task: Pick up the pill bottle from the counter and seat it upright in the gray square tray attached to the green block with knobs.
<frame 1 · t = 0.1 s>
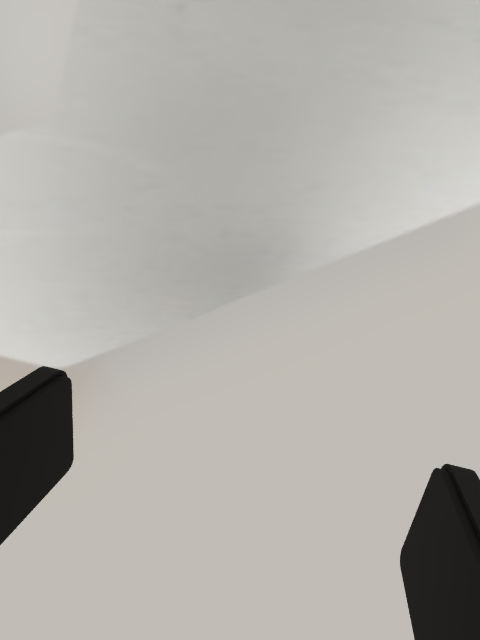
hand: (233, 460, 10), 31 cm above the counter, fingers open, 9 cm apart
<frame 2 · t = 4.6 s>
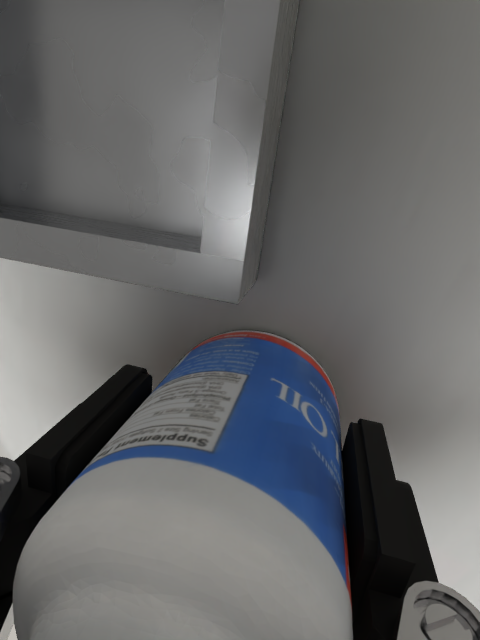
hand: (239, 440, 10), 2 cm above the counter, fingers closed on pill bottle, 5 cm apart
gray square tray: (115, 85, 10), on the counter
pill bottle: (254, 399, 12), on the counter, touching gripper
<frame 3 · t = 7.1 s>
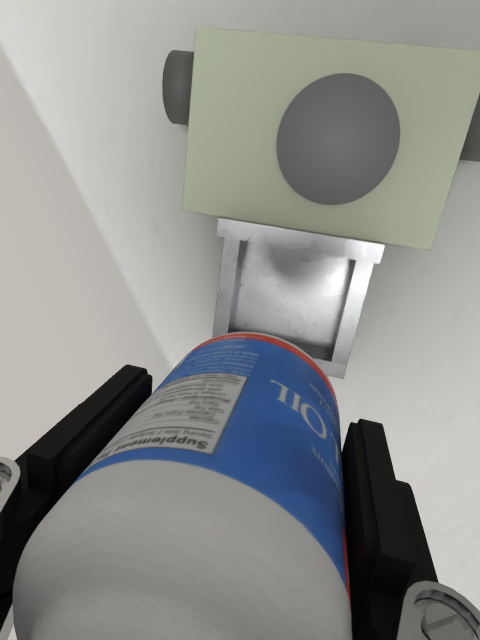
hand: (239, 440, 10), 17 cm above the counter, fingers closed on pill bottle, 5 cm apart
gray square tray: (290, 290, 26), on the counter
green block with knobs: (317, 148, 23), on the counter
pill bottle: (254, 400, 12), point 15 cm above the counter, touching gripper
when the fingers open (4 cm above the counter, at t = 9.7 s): pill bottle drops 2 cm, resting on gray square tray.
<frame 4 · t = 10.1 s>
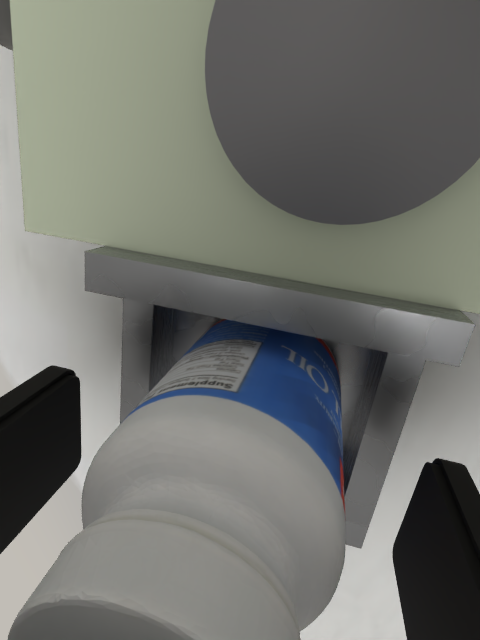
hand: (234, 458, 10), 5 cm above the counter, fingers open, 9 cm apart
gray square tray: (263, 371, 14), on the counter
green block with knobs: (311, 103, 11), on the counter
pill bottle: (265, 372, 14), resting on gray square tray
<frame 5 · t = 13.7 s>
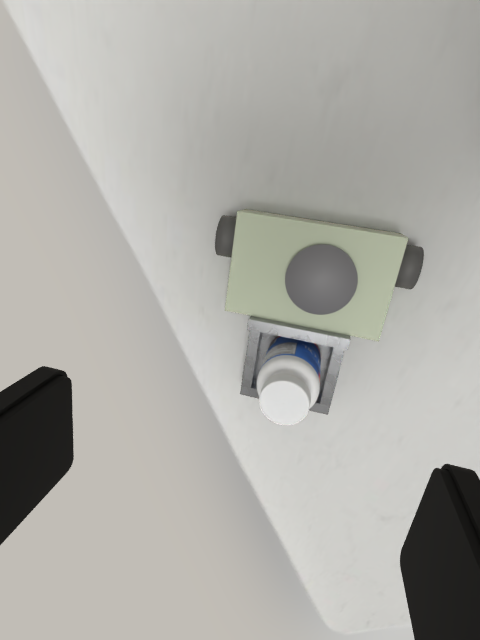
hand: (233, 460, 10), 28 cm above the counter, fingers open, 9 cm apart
gray square tray: (293, 354, 39), on the counter
green block with knobs: (310, 269, 36), on the counter
pill bottle: (294, 354, 39), resting on gray square tray
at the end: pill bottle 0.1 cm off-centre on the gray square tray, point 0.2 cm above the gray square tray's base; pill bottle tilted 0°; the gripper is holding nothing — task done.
